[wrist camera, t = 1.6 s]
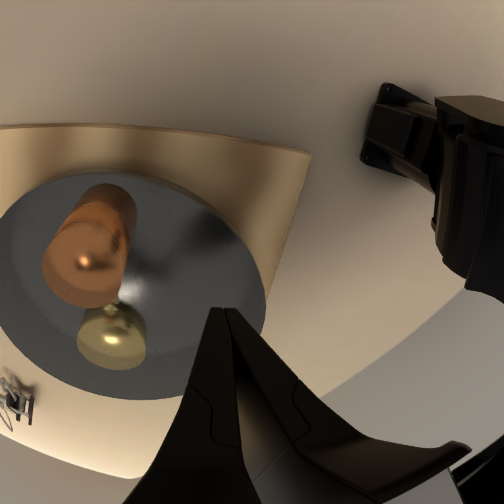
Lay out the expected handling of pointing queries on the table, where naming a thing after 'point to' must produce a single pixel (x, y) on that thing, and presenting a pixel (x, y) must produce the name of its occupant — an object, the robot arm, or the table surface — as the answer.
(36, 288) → the handwheel
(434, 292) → the table surface
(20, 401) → the clip-on lamp
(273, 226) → the board
